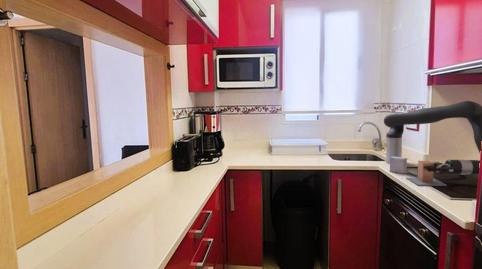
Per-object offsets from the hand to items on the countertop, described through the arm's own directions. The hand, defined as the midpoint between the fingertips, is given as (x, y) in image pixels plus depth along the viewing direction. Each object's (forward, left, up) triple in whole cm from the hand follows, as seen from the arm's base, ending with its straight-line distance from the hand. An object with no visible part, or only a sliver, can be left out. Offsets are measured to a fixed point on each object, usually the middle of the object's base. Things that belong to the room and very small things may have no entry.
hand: (423, 167), depth 141 cm
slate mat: (0, +1, -8) cm, 8 cm away
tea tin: (0, +1, -7) cm, 7 cm away
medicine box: (-21, -4, -8) cm, 23 cm away
